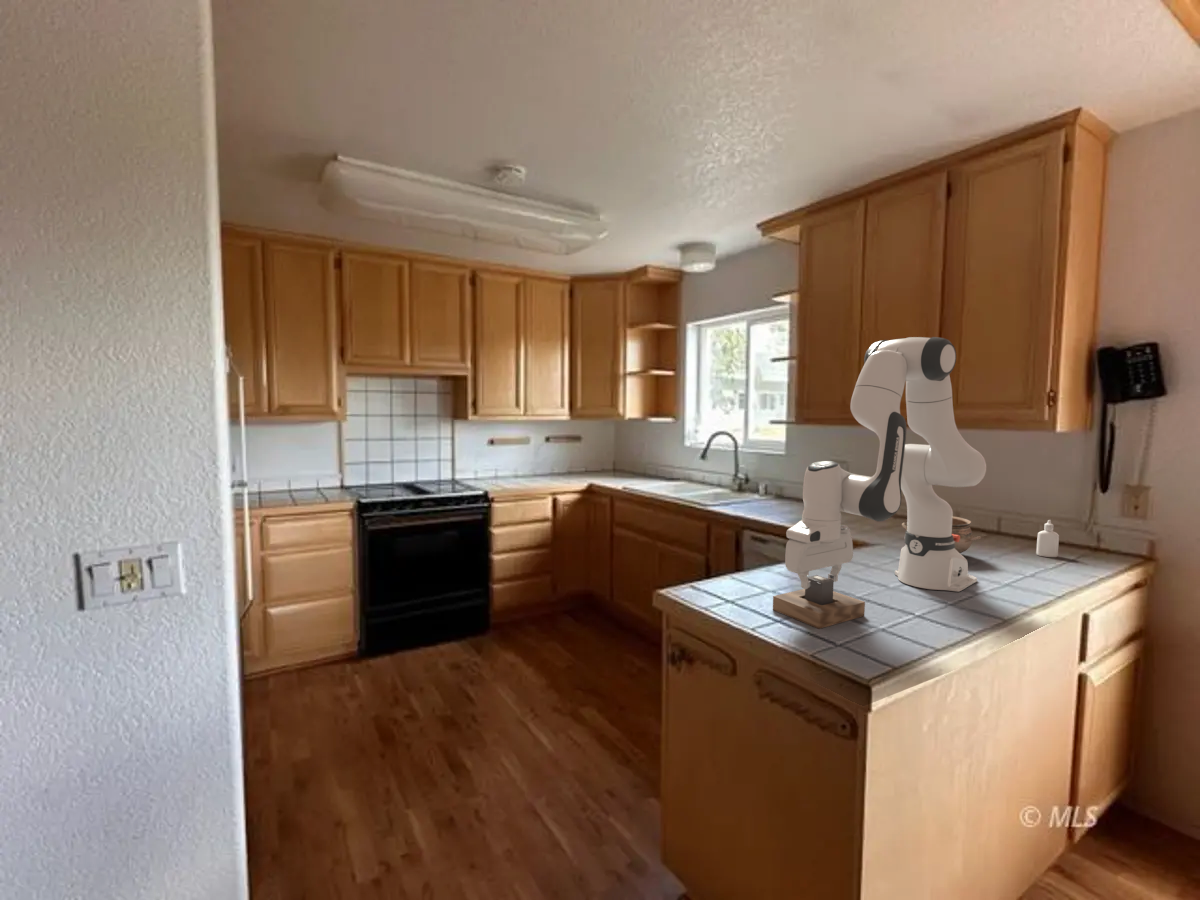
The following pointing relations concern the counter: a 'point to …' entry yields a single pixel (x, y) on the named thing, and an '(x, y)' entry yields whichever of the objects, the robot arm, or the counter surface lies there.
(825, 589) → the block
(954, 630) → the counter surface
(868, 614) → the counter surface
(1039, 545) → the eye dropper bottle
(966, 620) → the counter surface
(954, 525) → the cooking pot
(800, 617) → the dock
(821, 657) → the counter surface
